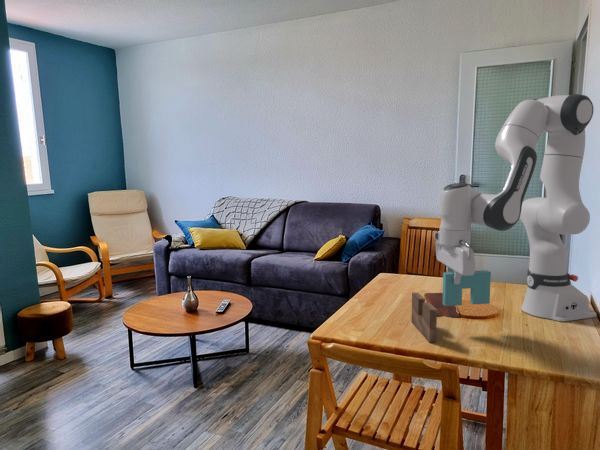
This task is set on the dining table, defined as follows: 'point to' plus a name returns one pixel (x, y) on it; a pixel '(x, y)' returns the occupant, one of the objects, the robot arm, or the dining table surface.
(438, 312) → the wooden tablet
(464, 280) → the teal slotted plate
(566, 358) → the dining table surface
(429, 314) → the walnut slotted plate
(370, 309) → the dining table surface
